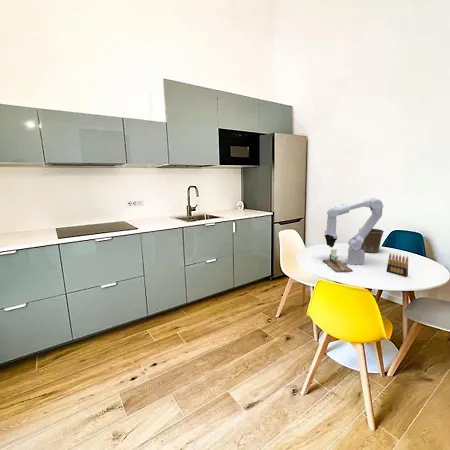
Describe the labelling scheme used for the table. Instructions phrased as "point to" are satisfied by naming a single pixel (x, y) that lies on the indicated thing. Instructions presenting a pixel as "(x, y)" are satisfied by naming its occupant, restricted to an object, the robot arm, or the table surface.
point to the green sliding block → (333, 254)
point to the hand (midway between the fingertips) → (330, 246)
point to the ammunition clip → (397, 265)
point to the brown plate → (338, 265)
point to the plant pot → (372, 241)
